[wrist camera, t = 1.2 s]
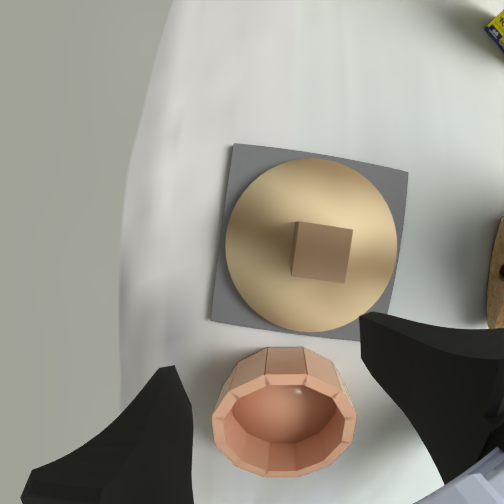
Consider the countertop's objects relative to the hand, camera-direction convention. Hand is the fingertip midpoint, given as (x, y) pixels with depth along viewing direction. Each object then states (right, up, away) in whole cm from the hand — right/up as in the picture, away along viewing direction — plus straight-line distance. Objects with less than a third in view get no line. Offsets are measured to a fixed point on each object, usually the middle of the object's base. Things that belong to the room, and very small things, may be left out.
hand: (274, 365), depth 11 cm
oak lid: (+3, +5, +10) cm, 12 cm away
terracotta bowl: (+2, -8, +12) cm, 15 cm away
